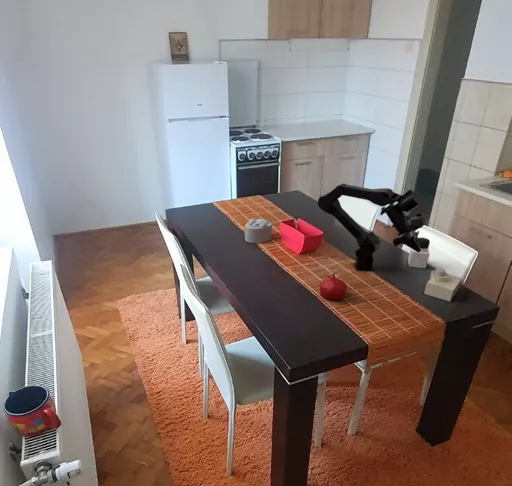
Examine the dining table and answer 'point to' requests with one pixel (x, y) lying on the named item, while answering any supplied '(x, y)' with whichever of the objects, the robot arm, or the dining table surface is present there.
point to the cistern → (442, 286)
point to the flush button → (440, 272)
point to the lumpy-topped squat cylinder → (258, 231)
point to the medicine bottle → (419, 254)
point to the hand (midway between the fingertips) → (419, 251)
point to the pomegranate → (332, 287)
